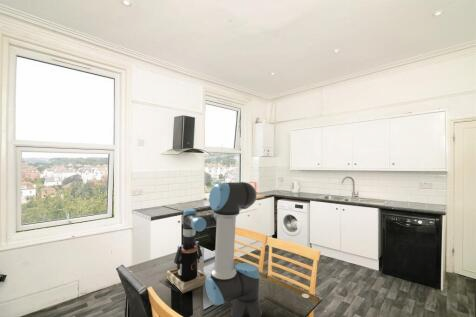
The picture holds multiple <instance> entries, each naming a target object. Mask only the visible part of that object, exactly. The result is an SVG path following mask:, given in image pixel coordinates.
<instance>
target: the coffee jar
mask: <svg viewBox="0 0 476 317" xmlns="http://www.w3.org/2000/svg"><path fill="white" fill-rule="evenodd" d="M197 250H198V247H197V246H196V245H195V246H194V248H191V249H188V250H185V249H183V248H182V250H181V254H180V256H181V257H182V261H181V264H182V273H181V275H179V278H180V280H181V281H183V282H188V281H191V280H193V279H196V277H197V260H198V255H199V254H198V251H197Z"/></svg>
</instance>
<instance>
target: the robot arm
mask: <svg viewBox="0 0 476 317" xmlns="http://www.w3.org/2000/svg"><path fill="white" fill-rule="evenodd" d="M208 195H209V196H208V201H209V203H208V204H209V207H210V208H211V210H213V213H211V214H203V215H201V214H200V215H197V210H196V209H195V208H186V209H184V210H183V215H182V219H183V220H182V226H183V227H182V244H181V245H177V250H176V254H175V256H174V257H175V258H174V260H173V263H174V264H176V268H177V269H178V274H179V275H181V273H182V264H181V261H182V257H181V256H180V254H181V250H182V248H183V249H185V250H188V249H191V248H194V246H197V247H198V250H197V252H198V260H197V270H199V263H200V259H201V257H203V253H202V249H201V246H200V244H201V243H200V241H199V240H196V232H202V231H204V230H205V229H210V228H214V227H215V228H216V230H215V231H216V232H215V248H214V249H215V251H214V267H213V268H212V269H211V270H210V276H209V277H207V279H206V281H205V285H204V287H205V290H206V295H207V297H208V299H209V302H210V303H211V304H212V305H215V306H220V305H224V304H225V303H228V302H231V301H232V302H233V303H232V304H231V308H230V309H231V310H230V315H231V317H261V315H262V316H263V309H262V304H261V301H260V297H259V296H260V277H261V276H260V270H259V268H258V267H257V265H256V266H255V265H253V264H251V263H247V262H239V263H237V264H236V265H235V267H234V260H235V259H234V258H235V240H236V224H237V223H236V218H237V216H239V215H240V212H241V211H242V210H247V209H249V208H250V207H251V206H253V205H254V204H255V202H256V200H257V191H256V189H255V187H254V186H253V185H252V184H250V183H249V182H244V181H240V182H237V181H236V182H221V183H220V182H219V183H216V184H214V185H213V187H212V188H211V189H210V192H209V194H208Z"/></svg>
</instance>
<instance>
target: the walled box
mask: <svg viewBox="0 0 476 317" xmlns="http://www.w3.org/2000/svg"><path fill="white" fill-rule="evenodd" d="M207 278H208V277H207V275H206V274H205V273H204V272H202V271H201V270H199V269H198V270H197V277H196V279H193V280H191V281H188V282H183V281H181V280H180V278H179V274H178V269H177V267H176V268H172V269H169V270H167V271H166V280H167V279H168V280H169V281H170V282H171V284H172V285H173V284H174V285H175V286H176V287H177V288H178V289H179V290H180V291H181V292H182V293H181V292H180V291H179V290H178V289H177V288H176V287H175V286H174V285H173V286H174V287H175V288H176V289H177V290H178V291H179V292H180V293H181V294H185V293H188V292H190V291H193V290H195V289H198V288H199V287H202V286H205V281H206V279H207ZM168 280H167V281H168ZM169 281H168V282H169ZM170 282H169V283H170Z"/></svg>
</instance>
